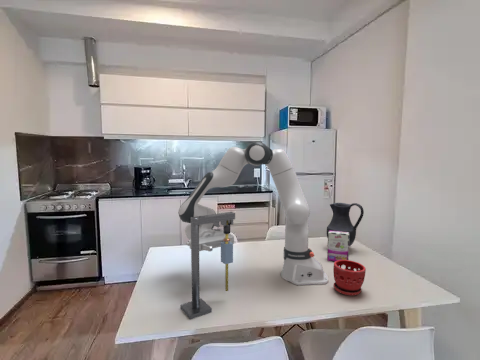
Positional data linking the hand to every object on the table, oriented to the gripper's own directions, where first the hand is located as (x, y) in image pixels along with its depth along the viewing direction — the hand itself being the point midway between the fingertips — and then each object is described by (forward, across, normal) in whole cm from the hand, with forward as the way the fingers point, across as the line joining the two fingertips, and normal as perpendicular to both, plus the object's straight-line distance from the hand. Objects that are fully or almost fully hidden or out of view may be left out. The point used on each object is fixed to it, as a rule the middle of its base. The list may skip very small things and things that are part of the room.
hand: (220, 247), depth 123 cm
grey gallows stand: (+5, -8, +21) cm, 23 cm away
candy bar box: (+3, +74, +21) cm, 77 cm away
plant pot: (+28, +49, +21) cm, 60 cm away
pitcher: (-6, +90, +21) cm, 93 cm away
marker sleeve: (+5, 0, +5) cm, 7 cm away
